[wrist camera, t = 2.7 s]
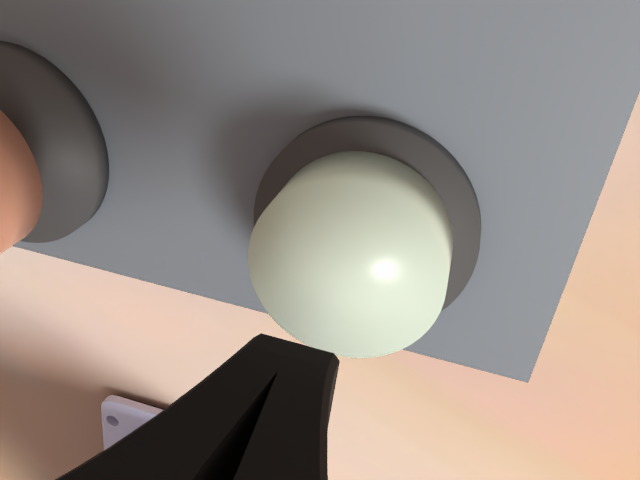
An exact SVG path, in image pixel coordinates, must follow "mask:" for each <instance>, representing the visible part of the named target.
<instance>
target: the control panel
mask: <svg viewBox="0 0 640 480" xmlns="http://www.w3.org/2000/svg"><path fill="white" fill-rule="evenodd" d="M639 91H640V0H0V110H1V111H2V112H3V113H4V114H5V115H6V116H7V117H8V118H9V119H10V120H11V121H12V123H13V124H14V125H15V127H16V128H17V129H18V130H19V132H20V133H21V135H22V136H23V138H24V139H25V141H26V142H27V144H28V146H29V148H30V150H31V152H32V154H33V156H34V159H35V161H36V164H37V167H38V170H39V174H40V177H41V183H42V194H43V200H42V209H41V213H40V217H39V219H38V221H37V224H36V225H35V227H34V228H33V230H32V231H31V232H30V233H29V234H28V235H27V236H26V237H25V238H23V239H22V240H20V241H19V242H17V243H16V244H14V245H13V246H15V247H19V248H22V249H26V250H30V251H34V252H38V253H41V254H45V255H49V256H53V257H56V258H60V259H64V260H68V261H71V262H75V263H79V264H83V265H87V266H90V267H94V268H98V269H102V270H105V271H109V272H113V273H117V274H120V275H124V276H128V277H132V278H136V279H139V280H143V281H147V282H151V283H154V284H158V285H162V286H166V287H169V288H173V289H177V290H181V291H185V292H188V293H192V294H196V295H200V296H203V297H207V298H211V299H215V300H218V301H222V302H226V303H230V304H234V305H237V306H241V307H245V308H249V309H252V310H256V311H260V312H264V313H267V314H268V312H267V311H266V310H265V308H264V307H263V305H262V304H261V302H260V300H259V298H258V296H257V294H256V292H255V290H254V287H253V285H252V281H251V278H250V274H249V267H248V248H249V241H250V238H251V234H252V231H253V229H254V227H255V225H256V222H257V220H258V219H259V217H260V216H261V214H262V213H263V212H264V210H265V209H266V208H267V207H268V205H269V204H270V203H271V202H272V201H273V199H274V198H275V197H276V196H277V195H278V193H279V192H280V191H281V190H282V189H283V187H284V186H285V185H286V184H287V183H288V181H289V180H290V179H291V178H292V177H293V176H294V175H295V174H296V173H297V172H298V171H299V170H300V169H302V168H303V167H304V166H306V165H307V164H309V163H311V162H312V161H314V160H316V159H318V158H321V157H323V156H326V155H329V154H334V153H338V152H346V151H365V152H372V153H377V154H381V155H384V156H388V157H390V158H393V159H395V160H397V161H400V162H402V163H403V164H405V165H407V166H409V167H410V168H412V169H413V170H415V171H416V172H417V173H419V174H420V175H421V176H422V177H423V178H424V179H425V180H426V181H427V182H428V183H429V184H431V186H432V187H433V188H434V190H435V191H436V192H437V193H438V195H439V196H440V198H441V200H442V201H443V203H444V205H445V207H446V209H447V212H448V214H449V217H450V221H451V225H452V230H453V253H452V259H451V266H450V272H449V278H448V285H447V291H446V296H445V301H444V304H443V307H442V309H441V312H440V314H439V315H438V317H437V319H436V321H435V322H434V324H433V325H432V326H431V328H430V329H429V330H428V331H427V332H426V333H425V334H424V335H423V336H422V337H421V338H420V339H418V340H417V341H415V342H414V343H413V344H411V345H409V346H407V347H406V348H404V349H403V350H407V351H411V352H414V353H418V354H422V355H426V356H429V357H433V358H437V359H441V360H445V361H448V362H452V363H456V364H460V365H463V366H467V367H471V368H475V369H478V370H482V371H486V372H490V373H494V374H497V375H501V376H505V377H509V378H512V379H516V380H520V381H524V382H527V383H528V382H529V379H530V376H531V374H532V371H533V369H534V366H535V363H536V361H537V358H538V356H539V353H540V350H541V348H542V345H543V342H544V340H545V337H546V335H547V332H548V329H549V327H550V324H551V322H552V319H553V316H554V314H555V311H556V308H557V306H558V303H559V301H560V298H561V295H562V293H563V290H564V288H565V285H566V282H567V280H568V277H569V274H570V272H571V269H572V267H573V264H574V261H575V259H576V256H577V254H578V251H579V248H580V246H581V243H582V240H583V238H584V235H585V233H586V230H587V227H588V225H589V222H590V220H591V217H592V214H593V212H594V209H595V206H596V204H597V201H598V199H599V196H600V193H601V191H602V188H603V186H604V183H605V180H606V178H607V175H608V172H609V170H610V167H611V165H612V162H613V159H614V157H615V154H616V152H617V149H618V146H619V144H620V141H621V138H622V136H623V133H624V131H625V128H626V125H627V123H628V120H629V118H630V115H631V112H632V110H633V107H634V104H635V102H636V99H637V97H638V94H639Z"/></svg>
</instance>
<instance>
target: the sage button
mask: <svg viewBox="0 0 640 480" xmlns="http://www.w3.org/2000/svg"><path fill="white" fill-rule="evenodd" d="M452 253H453V230H452V225H451V221H450V217H449V214H448V212H447V209H446V207H445V205H444V203H443V201H442V200H441V198H440V196H439V195H438V193H437V192H436V191H435V190H434V188H433V187H432V186H431V184H429V183H428V182H427V181H426V180H425V179H424V178H423V177H422V176H421V175H420V174H419V173H417V172H416V171H415V170H413V169H412V168H410V167H409V166H407V165H405V164H403V163H402V162H400V161H397V160H395V159H393V158H390V157H388V156H384V155H381V154H377V153H372V152H365V151H346V152H338V153H334V154H329V155H326V156H323V157H321V158H318V159H316V160H314V161H312V162H311V163H309V164H307V165H306V166H304V167H303V168H302V169H300V170H299V171H298V172H297V173H296V174H295V175H294V176H293V177H292V178H291V179H290V180H289V181H288V183H287V184H286V185H285V186H284V187H283V189H282V190H281V191H280V192H279V193H278V195H277V196H276V197H275V198H274V199H273V201H272V202H271V203H270V204H269V205H268V207H267V208H266V209H265V210H264V212H263V213H262V214H261V216H260V217H259V219H258V220H257V222H256V225H255V227H254V229H253V231H252V234H251V238H250V241H249V248H248V267H249V274H250V278H251V281H252V285H253V287H254V290H255V292H256V294H257V296H258V298H259V300H260V302H261V304H262V305H263V307H264V308H265V310H266V311H267V312H268V314H269V315H270V316H271V317H272V318H273V319H274V321H275V322H276V323H277V324H278V325H279V326H280V327H282V328H283V329H284V330H285V331H286V332H287V333H289V334H290V335H292V336H293V337H294V338H296V339H297V340H299V341H301V342H302V343H304V344H306V345H308V346H310V347H313V348H316V349H320V350H324V351H327V352H331V353H334V354H335V355H337V356H341V357H349V358H372V357H379V356H384V355H388V354H391V353H394V352H397V351H399V350H402V349H404V348H406V347H407V346H409V345H411V344H413V343H414V342H415V341H417V340H418V339H420V338H421V337H422V336H423V335H424V334H425V333H426V332H427V331H428V330H429V329H430V328H431V326H432V325H433V324H434V322H435V321H436V319H437V317H438V315H439V314H440V312H441V309H442V307H443V304H444V301H445V296H446V291H447V285H448V278H449V272H450V266H451V259H452Z"/></svg>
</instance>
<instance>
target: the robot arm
mask: <svg viewBox="0 0 640 480" xmlns="http://www.w3.org/2000/svg"><path fill="white" fill-rule="evenodd" d="M338 367H339V360H338V358H337V357H336V355H335V354H334V353H331V352H327V351H324V350H320V349H316V348H313V347H309V346H305V345H302V344H298V343H294V342H291V341H287V340H283V339H280V338H276V337H272V336H268V335H265V334H259V335H258V336H256V337H254V338H253V339H252V340H250V341H249V342H248V343H247V344H246V345H245V346H244V347H242V348H241V349H240V350H239V351H238V352H237V353H235V354H234V355H233V356H232V357H231V358H229V359H228V360H227V361H226V362H225V363H223V364H222V365H221V366H220V367H219V368H217V369H216V370H215V371H214V372H212V373H211V374H210V375H209V376H207V377H206V378H205V379H204V380H202V381H201V382H200V383H199V384H197V385H196V386H195V387H193V388H192V389H191V390H189V391H188V392H187V393H185V394H184V395H183V396H181V397H180V398H179V399H178V400H176V401H175V402H174V403H172V404H171V405H170V406H168V407H167V408H166V409H164V410H162V409H159V408H156V407H153V406H149V405H146V404H143V403H139V402H136V401H133V400H129V399H126V398H123V397H120V396H115V395H110V396H108V397H107V398H106V399H105V400H104V401H103V402H102V404H101V416H102V430H103V445H104V451H102V452H101V453H99V454H98V455H96V456H94V457H93V458H91V459H90V460H88V461H86V462H85V463H83V464H81V465H80V466H78V467H76V468H75V469H73V470H71V471H70V472H68V473H66V474H64V475H63V476H61V477H59V478H57V479H56V480H328V476H327V428H328V423H329V417H330V411H331V406H332V400H333V395H334V389H335V384H336V378H337V372H338Z"/></svg>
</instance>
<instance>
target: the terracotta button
mask: <svg viewBox="0 0 640 480" xmlns="http://www.w3.org/2000/svg"><path fill="white" fill-rule="evenodd" d="M42 200H43V194H42V183H41V177H40V174H39V170H38V167H37V164H36V161H35V159H34V156H33V154H32V152H31V150H30V148H29V146H28V144H27V142H26V141H25V139H24V138H23V136H22V135H21V133H20V132H19V130H18V129H17V128H16V127H15V125H14V124H13V123H12V121H11V120H10V119H9V118H8V117H7V116H6V115H5V114H4V113H3V112H2V111H1V110H0V254H1V253H2V252H4V251H5V250H7V249H8V248H10V247H11V246H13V245H14V244H16V243H17V242H19V241H20V240H22V239H23V238H25V237H26V236H27V235H28V234H29V233H30V232H31V231H32V230H33V228H34V227H35V225H36V224H37V221H38V219H39V217H40V213H41V209H42Z"/></svg>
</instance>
